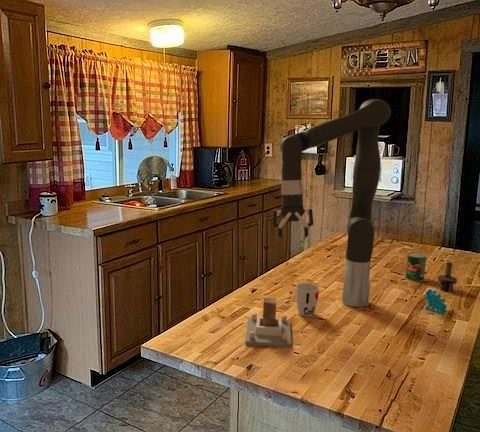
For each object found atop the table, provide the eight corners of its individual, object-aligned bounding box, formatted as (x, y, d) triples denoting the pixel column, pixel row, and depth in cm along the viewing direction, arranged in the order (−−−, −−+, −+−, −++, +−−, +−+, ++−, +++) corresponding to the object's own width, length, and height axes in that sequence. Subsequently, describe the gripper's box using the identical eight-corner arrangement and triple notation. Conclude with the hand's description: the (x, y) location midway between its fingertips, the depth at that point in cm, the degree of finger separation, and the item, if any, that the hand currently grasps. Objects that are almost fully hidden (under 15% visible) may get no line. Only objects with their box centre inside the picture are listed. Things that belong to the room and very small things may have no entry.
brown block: (274, 327, 162) (276, 298, 160) (274, 332, 158) (276, 303, 156) (262, 326, 163) (263, 297, 161) (262, 332, 159) (263, 302, 157)
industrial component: (455, 294, 201) (459, 266, 199) (436, 291, 204) (439, 263, 201) (455, 287, 210) (458, 260, 207) (437, 284, 212) (440, 257, 210)
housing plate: (289, 323, 169) (290, 312, 168) (291, 347, 151) (291, 336, 151) (248, 320, 170) (248, 310, 169) (245, 344, 152) (245, 333, 152)
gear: (436, 314, 176) (423, 288, 181) (424, 321, 180) (411, 296, 185) (454, 312, 183) (440, 287, 187) (441, 318, 187) (428, 294, 191)
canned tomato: (404, 280, 217) (406, 255, 215) (405, 274, 224) (408, 251, 222) (423, 282, 214) (426, 258, 212) (424, 277, 221) (427, 253, 219)
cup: (303, 319, 172) (304, 292, 170) (290, 311, 179) (291, 284, 177) (322, 315, 176) (323, 289, 174) (308, 307, 183) (310, 281, 181)
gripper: (272, 194, 173) (273, 240, 175) (313, 192, 172) (314, 239, 174) (271, 192, 180) (273, 237, 182) (311, 191, 180) (312, 235, 181)
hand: (293, 238), depth 178 cm, fingers open, 8 cm apart
